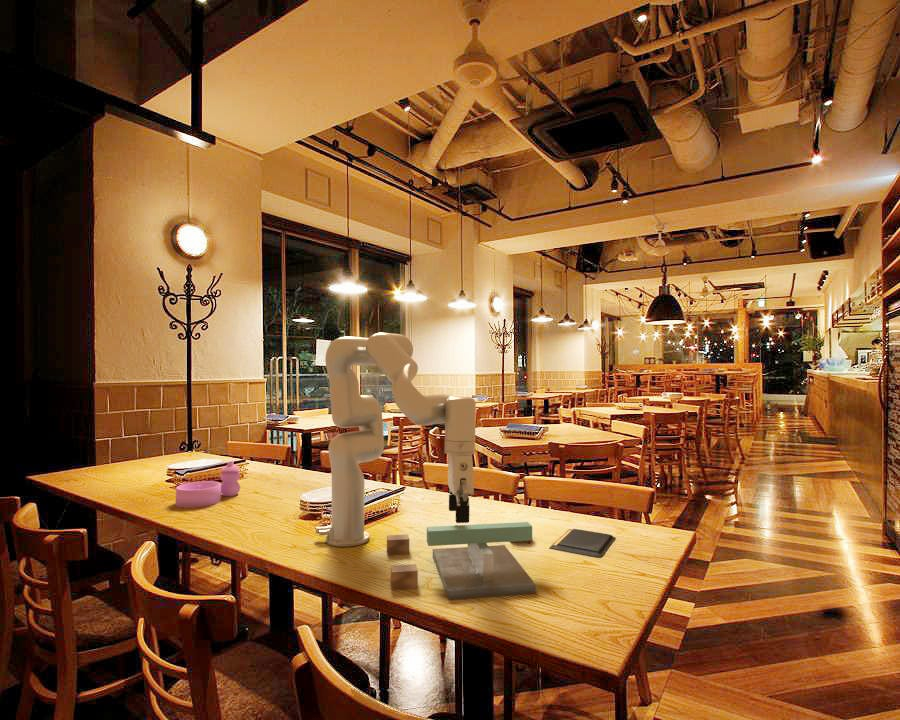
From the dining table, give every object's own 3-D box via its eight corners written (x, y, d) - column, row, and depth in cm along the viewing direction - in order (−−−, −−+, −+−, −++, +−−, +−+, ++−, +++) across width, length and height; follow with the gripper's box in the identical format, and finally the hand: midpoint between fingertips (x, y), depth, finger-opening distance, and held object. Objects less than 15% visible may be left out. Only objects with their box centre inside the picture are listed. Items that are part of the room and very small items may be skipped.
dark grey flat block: (600, 554, 133) (546, 543, 141) (600, 561, 133) (546, 550, 141) (618, 533, 150) (569, 525, 158) (618, 539, 150) (569, 531, 158)
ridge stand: (448, 600, 109) (448, 563, 109) (432, 556, 134) (432, 526, 135) (536, 593, 112) (536, 557, 112) (504, 552, 138) (504, 523, 138)
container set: (191, 510, 179) (192, 473, 179) (166, 504, 187) (167, 469, 187) (250, 495, 201) (250, 462, 201) (226, 490, 208) (226, 459, 209)
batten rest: (391, 590, 114) (391, 572, 114) (386, 549, 139) (386, 535, 140) (417, 588, 115) (417, 570, 115) (408, 548, 140) (408, 534, 140)
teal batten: (532, 540, 124) (532, 526, 124) (428, 546, 120) (428, 531, 120) (527, 535, 127) (527, 521, 128) (426, 541, 123) (426, 526, 123)
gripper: (482, 452, 115) (481, 527, 115) (467, 441, 132) (466, 506, 132) (450, 453, 114) (449, 528, 114) (439, 441, 131) (438, 506, 131)
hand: (458, 516), depth 123 cm, fingers open, 9 cm apart
